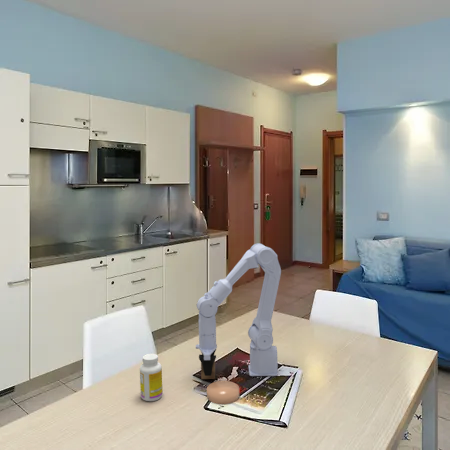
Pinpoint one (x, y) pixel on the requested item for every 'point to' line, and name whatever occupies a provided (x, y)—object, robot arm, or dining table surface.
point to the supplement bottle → (151, 378)
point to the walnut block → (208, 376)
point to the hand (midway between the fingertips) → (208, 371)
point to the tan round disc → (222, 392)
